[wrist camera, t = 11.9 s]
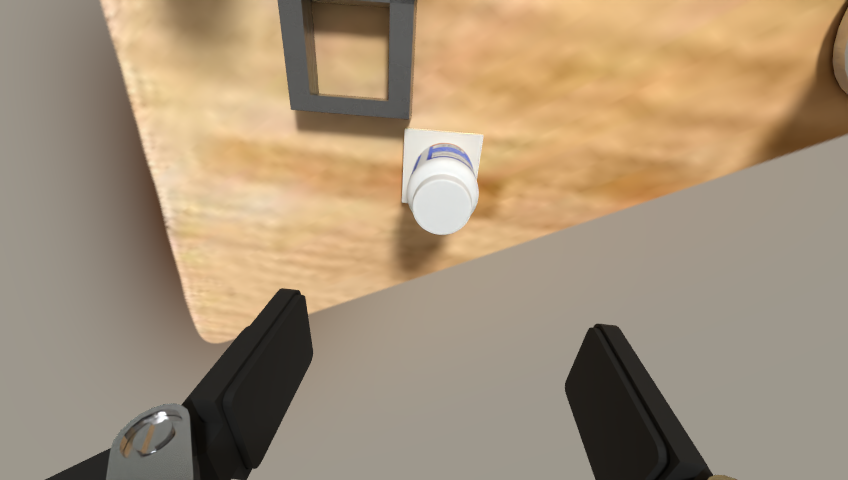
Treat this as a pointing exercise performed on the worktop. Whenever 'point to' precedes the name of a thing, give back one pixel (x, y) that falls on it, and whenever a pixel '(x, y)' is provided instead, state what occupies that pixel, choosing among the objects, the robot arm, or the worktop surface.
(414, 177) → the pill bottle
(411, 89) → the grey double square frame
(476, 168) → the tile
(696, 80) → the worktop surface
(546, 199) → the worktop surface
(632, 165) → the worktop surface
